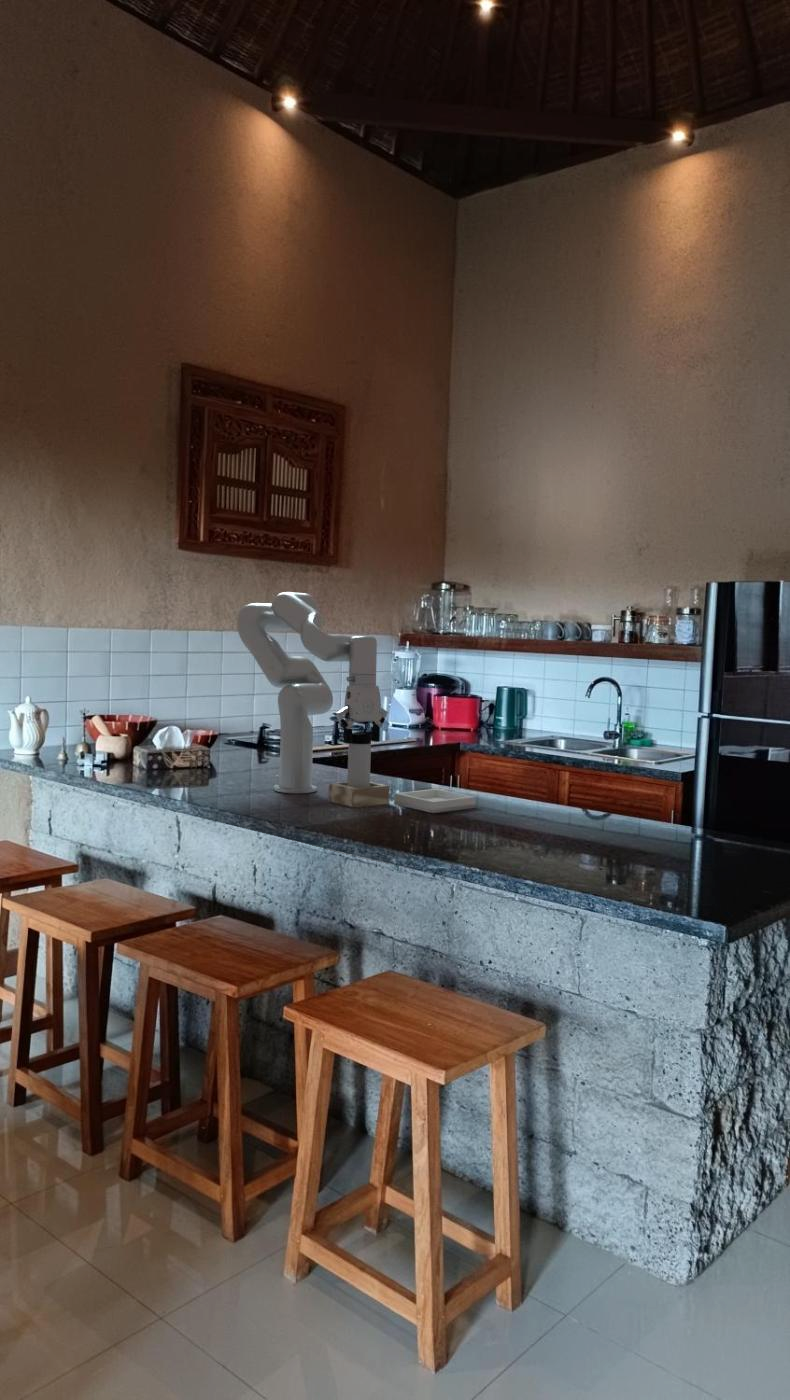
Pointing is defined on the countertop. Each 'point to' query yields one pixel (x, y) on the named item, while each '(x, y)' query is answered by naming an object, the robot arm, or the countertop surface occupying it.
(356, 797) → the wooden open box
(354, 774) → the travel mug
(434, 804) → the tray
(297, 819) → the countertop surface
